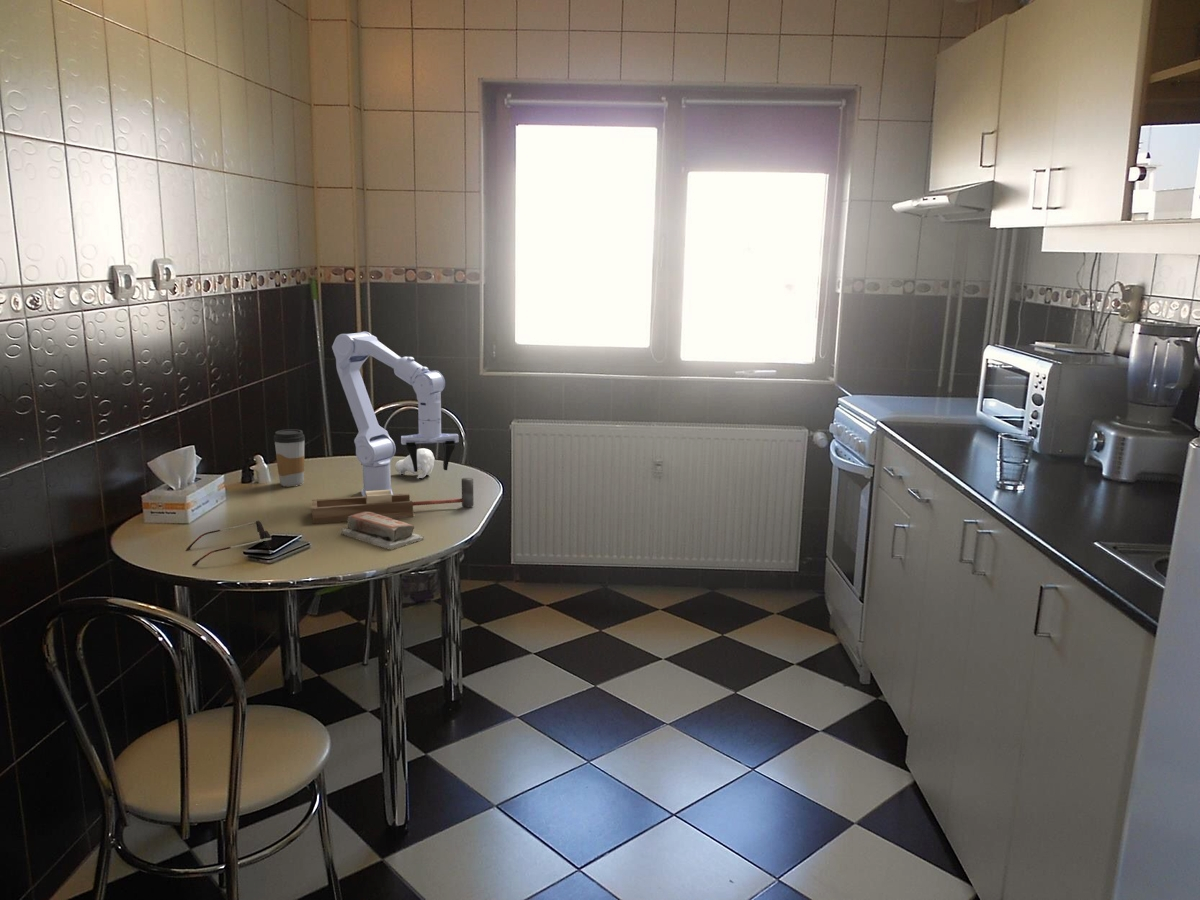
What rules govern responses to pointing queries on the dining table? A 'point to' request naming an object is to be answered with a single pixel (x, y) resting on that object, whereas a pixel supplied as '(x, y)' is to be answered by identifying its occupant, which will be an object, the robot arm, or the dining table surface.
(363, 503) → the lane tray
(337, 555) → the dining table surface
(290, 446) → the coffee cup
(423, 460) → the white animal figurine
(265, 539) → the sunglasses
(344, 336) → the robot arm
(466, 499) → the grey and red rod
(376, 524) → the packaged product
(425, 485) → the dining table surface
